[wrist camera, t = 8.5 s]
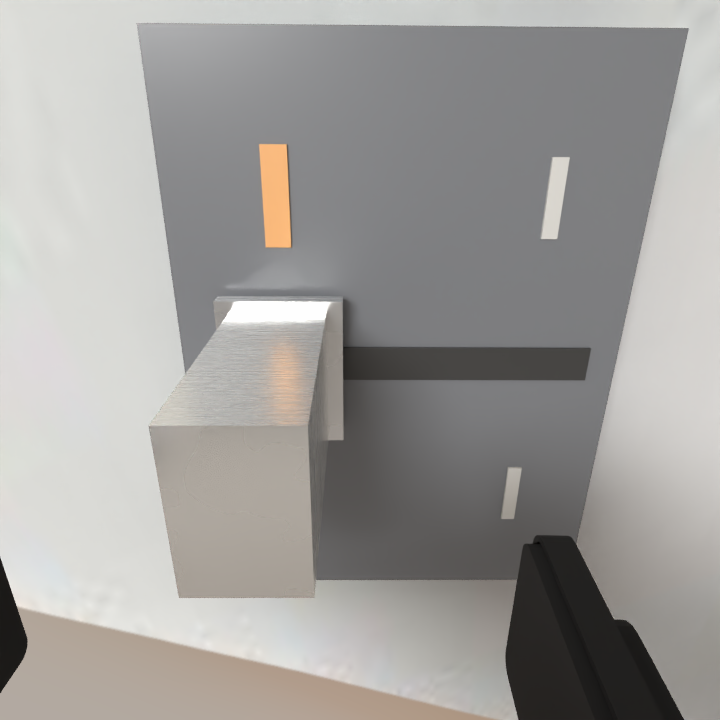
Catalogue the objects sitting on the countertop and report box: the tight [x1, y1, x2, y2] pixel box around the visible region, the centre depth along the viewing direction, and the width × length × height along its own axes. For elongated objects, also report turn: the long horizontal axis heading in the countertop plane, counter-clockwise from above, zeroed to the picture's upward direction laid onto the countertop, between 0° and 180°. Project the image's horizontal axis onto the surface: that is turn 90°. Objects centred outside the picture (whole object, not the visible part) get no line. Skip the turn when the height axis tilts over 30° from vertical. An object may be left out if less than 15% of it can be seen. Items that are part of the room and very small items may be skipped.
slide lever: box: [149, 296, 344, 598], centre depth 14 cm, size 4×5×8 cm
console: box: [137, 23, 689, 580], centre depth 19 cm, size 15×20×3 cm
